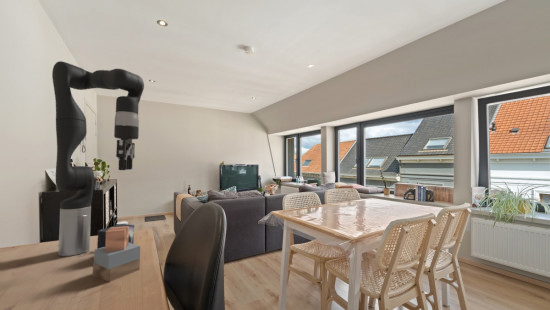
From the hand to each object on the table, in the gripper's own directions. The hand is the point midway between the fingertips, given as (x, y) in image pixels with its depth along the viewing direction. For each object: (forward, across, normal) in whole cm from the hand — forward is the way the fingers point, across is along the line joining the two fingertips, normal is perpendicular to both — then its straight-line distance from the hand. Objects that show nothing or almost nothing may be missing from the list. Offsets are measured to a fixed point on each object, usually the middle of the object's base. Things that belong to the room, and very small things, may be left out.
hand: (125, 169), depth 85 cm
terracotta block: (+24, +11, +1) cm, 27 cm away
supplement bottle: (+32, -16, -4) cm, 36 cm away
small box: (+32, -5, -4) cm, 33 cm away
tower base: (+32, +11, +1) cm, 34 cm away
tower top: (+28, +11, +1) cm, 31 cm away
